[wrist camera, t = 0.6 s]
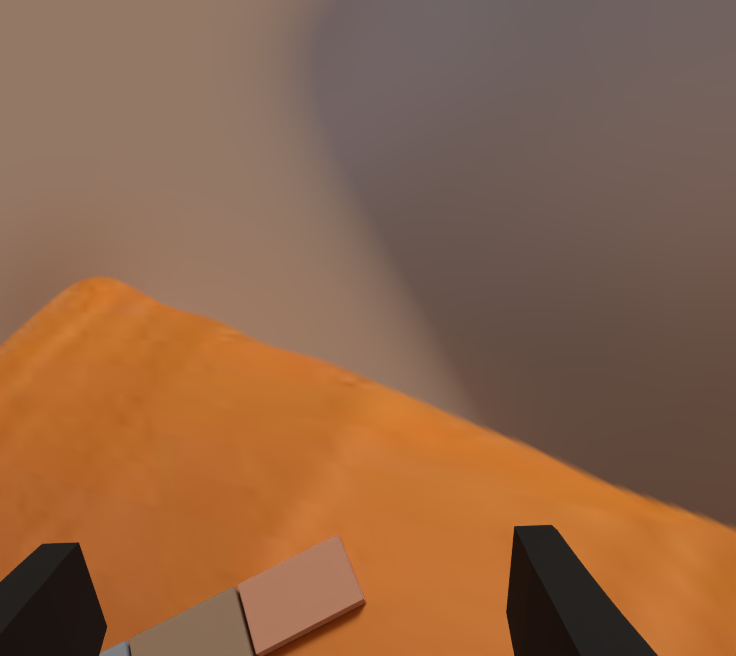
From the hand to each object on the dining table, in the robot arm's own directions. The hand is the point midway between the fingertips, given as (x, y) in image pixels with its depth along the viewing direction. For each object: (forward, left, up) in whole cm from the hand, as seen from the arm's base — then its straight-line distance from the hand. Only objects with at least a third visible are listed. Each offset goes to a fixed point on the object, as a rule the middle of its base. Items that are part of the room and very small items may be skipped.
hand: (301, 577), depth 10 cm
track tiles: (+6, +8, -16) cm, 19 cm away
